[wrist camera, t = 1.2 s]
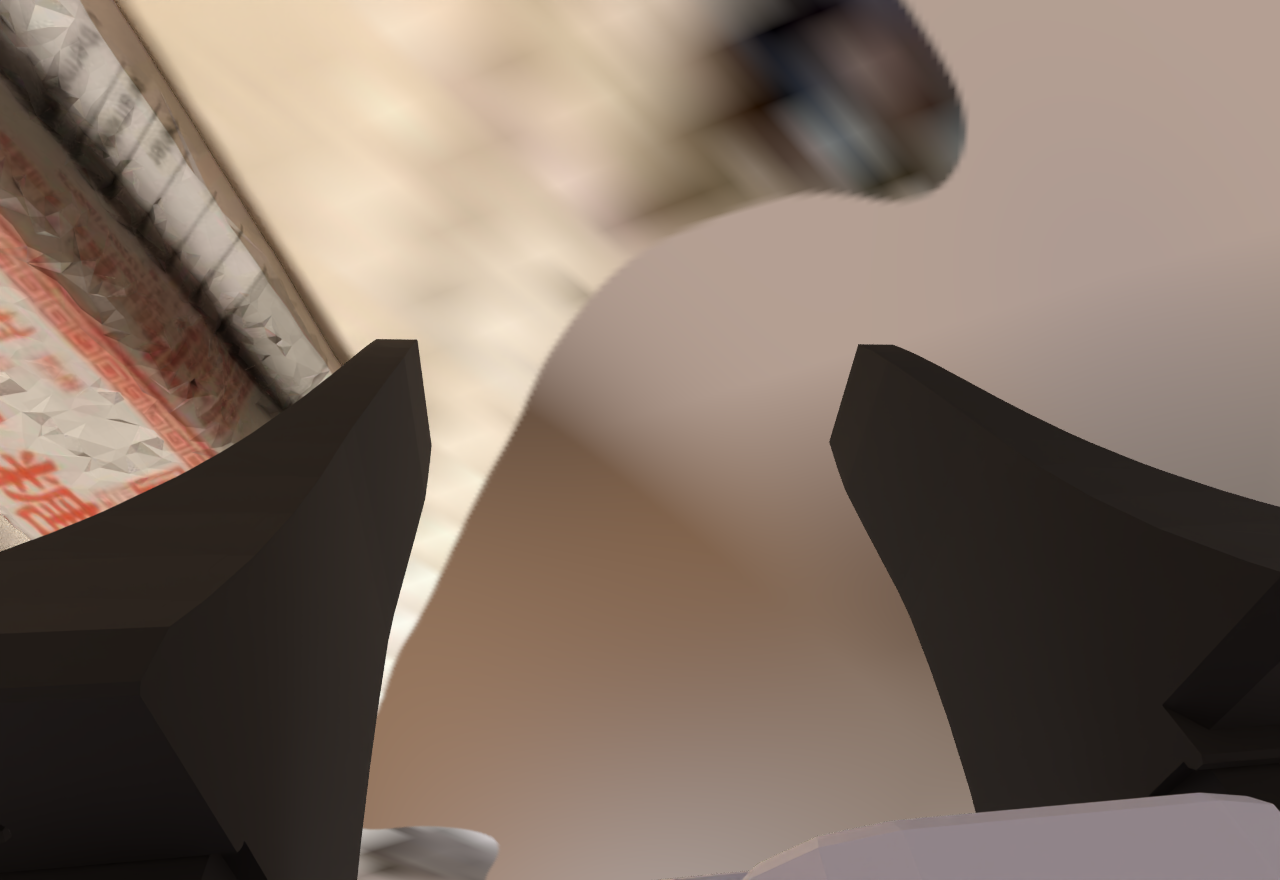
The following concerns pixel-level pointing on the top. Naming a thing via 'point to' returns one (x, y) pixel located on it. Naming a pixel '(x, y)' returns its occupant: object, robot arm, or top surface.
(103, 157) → the packaged product
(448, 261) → the top surface
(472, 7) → the top surface
